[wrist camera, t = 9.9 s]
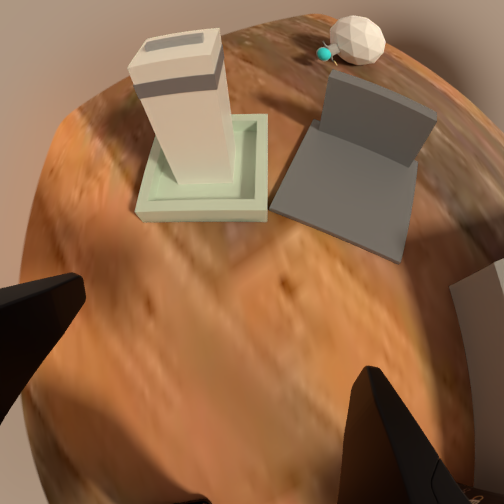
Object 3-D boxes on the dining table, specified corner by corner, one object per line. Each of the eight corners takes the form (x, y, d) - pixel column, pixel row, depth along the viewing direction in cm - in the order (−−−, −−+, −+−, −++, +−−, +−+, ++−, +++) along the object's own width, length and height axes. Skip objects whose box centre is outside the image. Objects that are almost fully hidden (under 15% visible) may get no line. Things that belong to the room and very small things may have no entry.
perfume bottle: (403, 55, 28) (355, 81, 27) (363, 57, 35) (314, 82, 34) (383, 7, 24) (328, 24, 23) (344, 16, 30) (289, 36, 29)
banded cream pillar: (233, 183, 24) (210, 47, 12) (177, 185, 25) (123, 62, 12) (236, 148, 26) (219, 21, 13) (184, 150, 26) (144, 33, 14)
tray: (267, 222, 24) (267, 210, 22) (143, 222, 24) (134, 212, 22) (267, 127, 27) (267, 114, 26) (165, 132, 28) (160, 120, 26)
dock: (398, 264, 22) (444, 227, 15) (269, 210, 24) (270, 153, 17) (416, 164, 25) (445, 117, 18) (313, 122, 28) (321, 66, 21)
